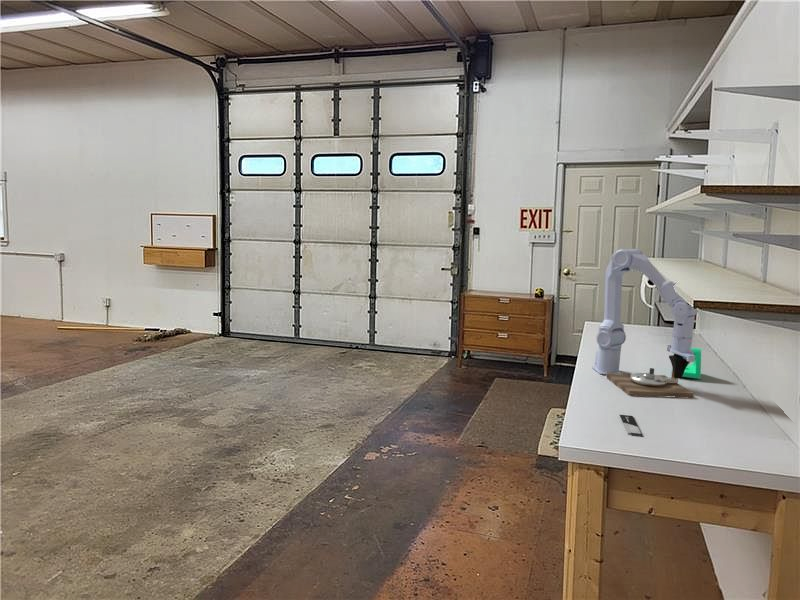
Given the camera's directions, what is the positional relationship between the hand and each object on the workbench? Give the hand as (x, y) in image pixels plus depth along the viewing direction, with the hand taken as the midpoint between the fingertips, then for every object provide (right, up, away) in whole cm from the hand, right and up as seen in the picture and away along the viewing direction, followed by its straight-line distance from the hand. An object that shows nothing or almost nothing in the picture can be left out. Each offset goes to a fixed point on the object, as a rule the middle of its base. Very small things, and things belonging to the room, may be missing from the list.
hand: (677, 378), depth 192 cm
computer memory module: (-29, -9, -34) cm, 46 cm away
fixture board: (-9, -3, +2) cm, 10 cm away
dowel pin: (-5, -1, +8) cm, 10 cm away
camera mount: (+12, -2, +19) cm, 23 cm away
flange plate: (-7, -2, +2) cm, 7 cm away
